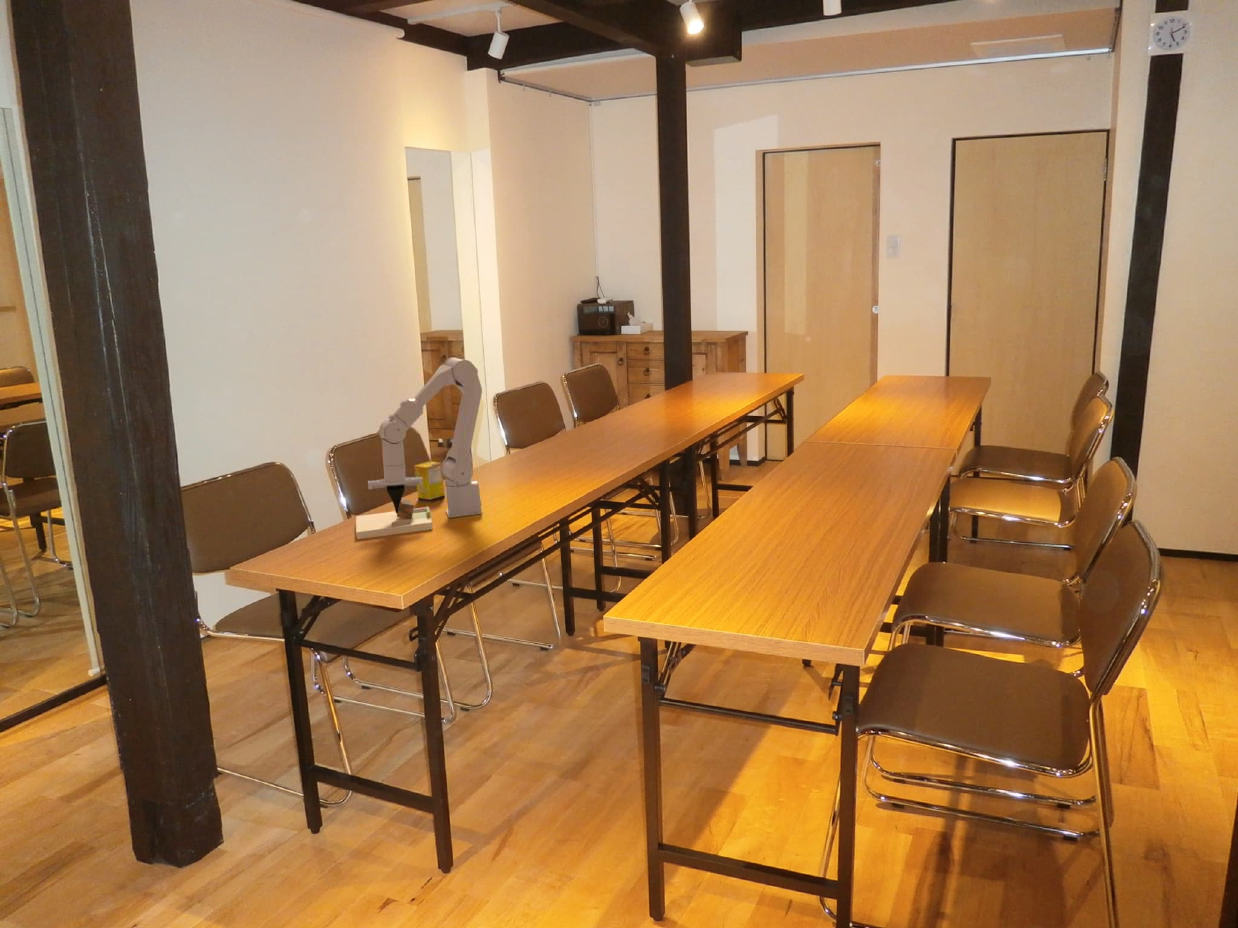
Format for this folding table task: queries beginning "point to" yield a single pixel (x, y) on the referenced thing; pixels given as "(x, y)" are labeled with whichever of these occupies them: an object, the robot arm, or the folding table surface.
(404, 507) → the block
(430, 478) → the supplement box
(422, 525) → the deck
